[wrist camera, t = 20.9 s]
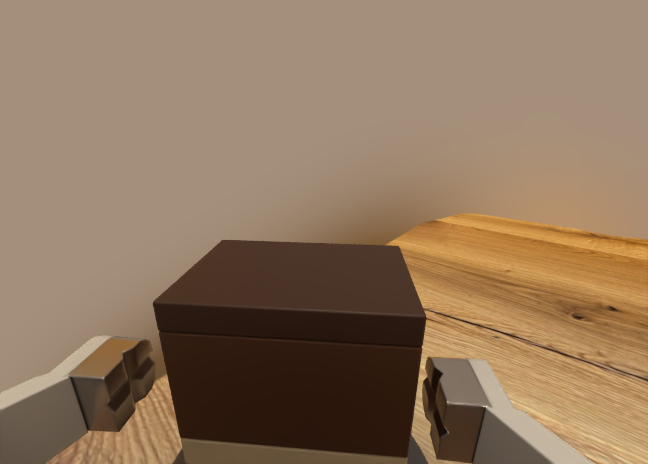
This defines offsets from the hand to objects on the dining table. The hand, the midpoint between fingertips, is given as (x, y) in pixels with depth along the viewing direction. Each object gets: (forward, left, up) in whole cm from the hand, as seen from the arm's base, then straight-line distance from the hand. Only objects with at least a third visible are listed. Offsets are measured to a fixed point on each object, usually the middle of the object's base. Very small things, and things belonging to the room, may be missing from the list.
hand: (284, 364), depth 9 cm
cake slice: (+1, 0, -6) cm, 6 cm away
